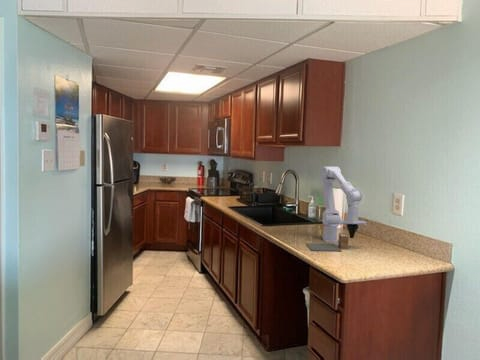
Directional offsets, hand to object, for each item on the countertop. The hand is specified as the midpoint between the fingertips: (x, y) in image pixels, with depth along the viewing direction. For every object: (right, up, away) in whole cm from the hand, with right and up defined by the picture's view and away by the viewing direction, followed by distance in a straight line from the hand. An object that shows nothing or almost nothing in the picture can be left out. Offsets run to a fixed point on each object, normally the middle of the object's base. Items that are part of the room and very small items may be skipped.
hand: (351, 237), depth 205 cm
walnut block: (-5, -6, 0) cm, 7 cm away
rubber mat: (-16, -5, 0) cm, 16 cm away
